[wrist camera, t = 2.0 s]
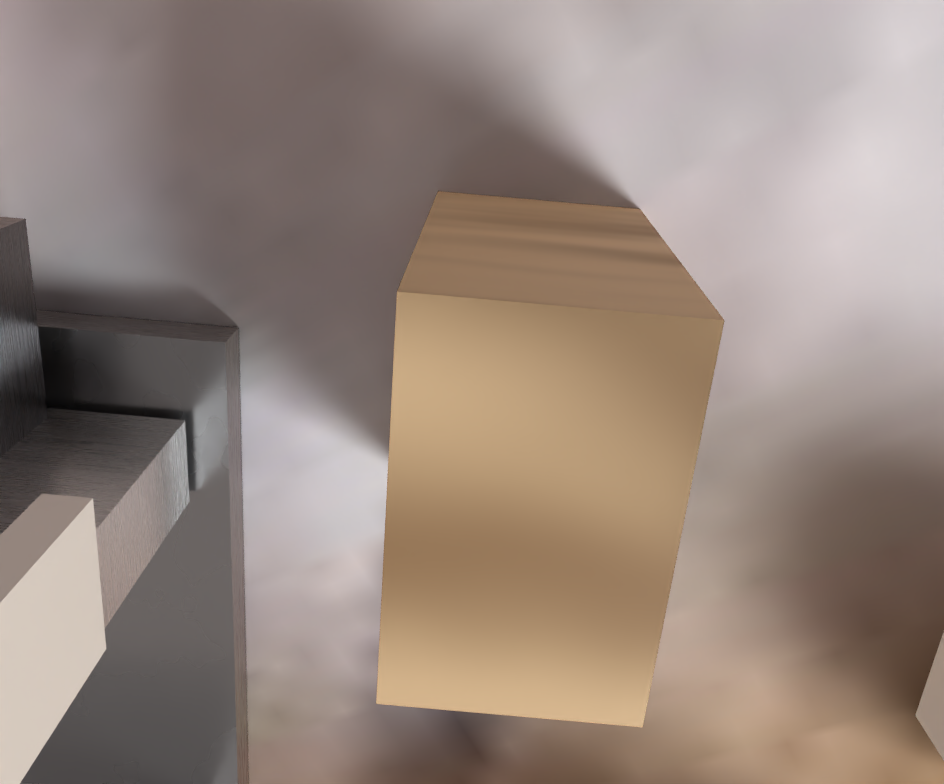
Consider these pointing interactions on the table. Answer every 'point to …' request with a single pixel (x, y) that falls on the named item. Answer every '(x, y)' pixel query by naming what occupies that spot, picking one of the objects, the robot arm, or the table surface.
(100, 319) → the vise
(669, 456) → the block
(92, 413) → the vise jaw
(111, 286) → the table surface
